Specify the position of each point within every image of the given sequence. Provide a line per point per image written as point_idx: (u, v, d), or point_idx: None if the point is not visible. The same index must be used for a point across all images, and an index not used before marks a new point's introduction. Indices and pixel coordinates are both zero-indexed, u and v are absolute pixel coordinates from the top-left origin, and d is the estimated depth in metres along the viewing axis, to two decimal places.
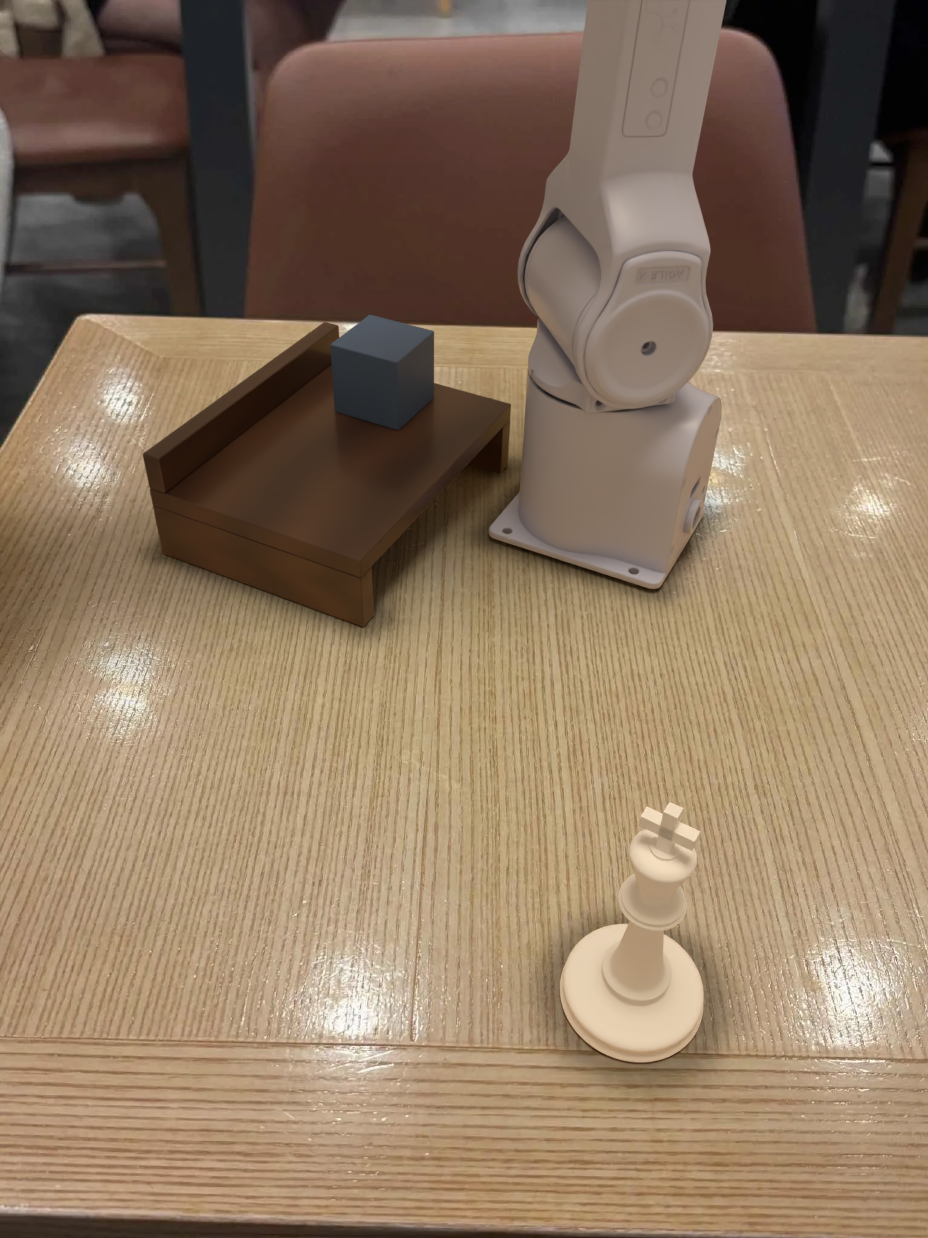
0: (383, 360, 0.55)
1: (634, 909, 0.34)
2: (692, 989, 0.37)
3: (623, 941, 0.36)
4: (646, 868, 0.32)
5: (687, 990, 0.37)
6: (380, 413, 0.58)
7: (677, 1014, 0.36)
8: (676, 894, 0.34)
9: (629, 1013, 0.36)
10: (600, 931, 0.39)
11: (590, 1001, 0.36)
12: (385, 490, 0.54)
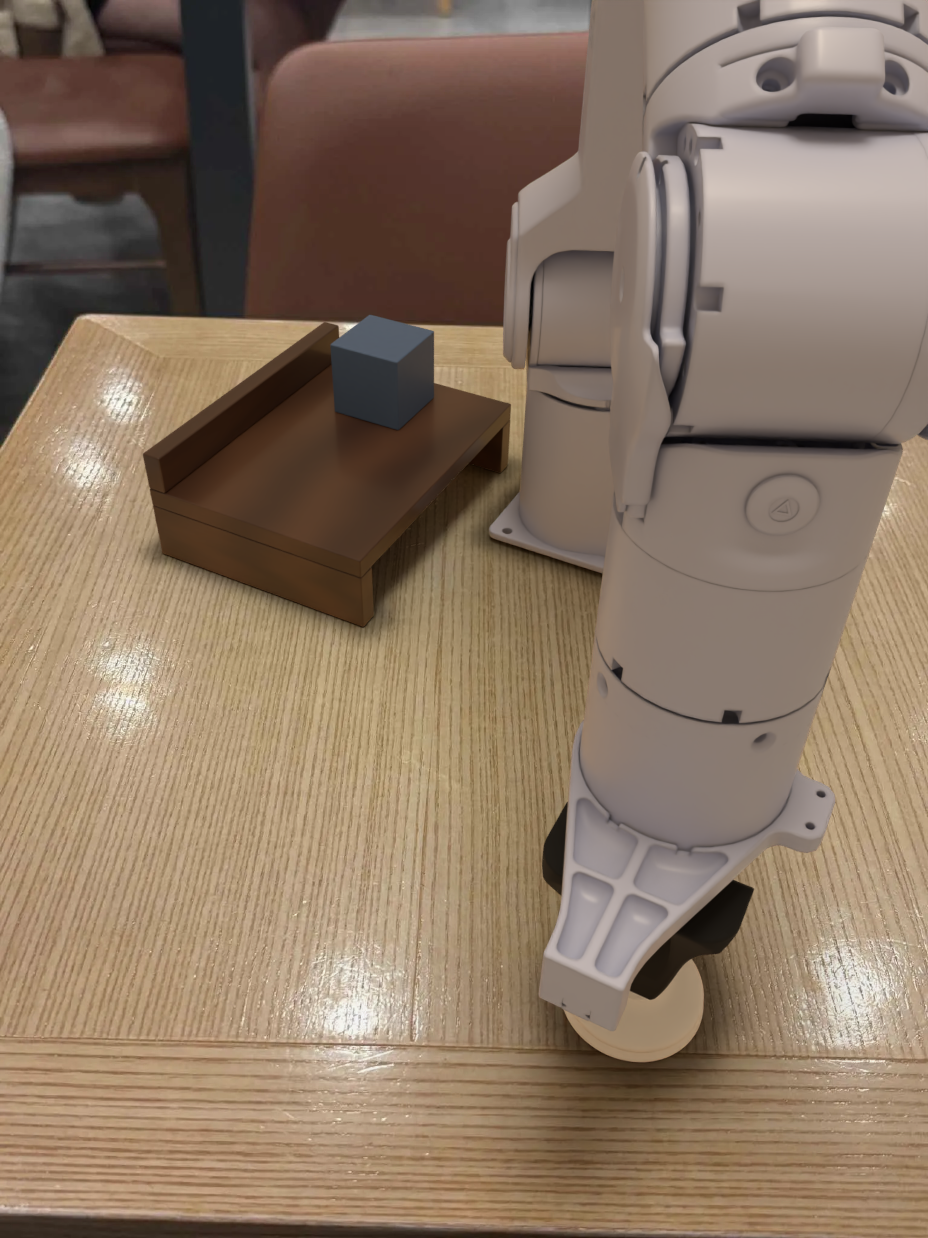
0: (383, 360, 0.55)
1: None
2: (692, 989, 0.37)
3: None
4: None
5: (687, 990, 0.37)
6: (380, 413, 0.58)
7: (677, 1014, 0.36)
8: None
9: (629, 1013, 0.36)
10: None
11: None
12: (385, 490, 0.54)
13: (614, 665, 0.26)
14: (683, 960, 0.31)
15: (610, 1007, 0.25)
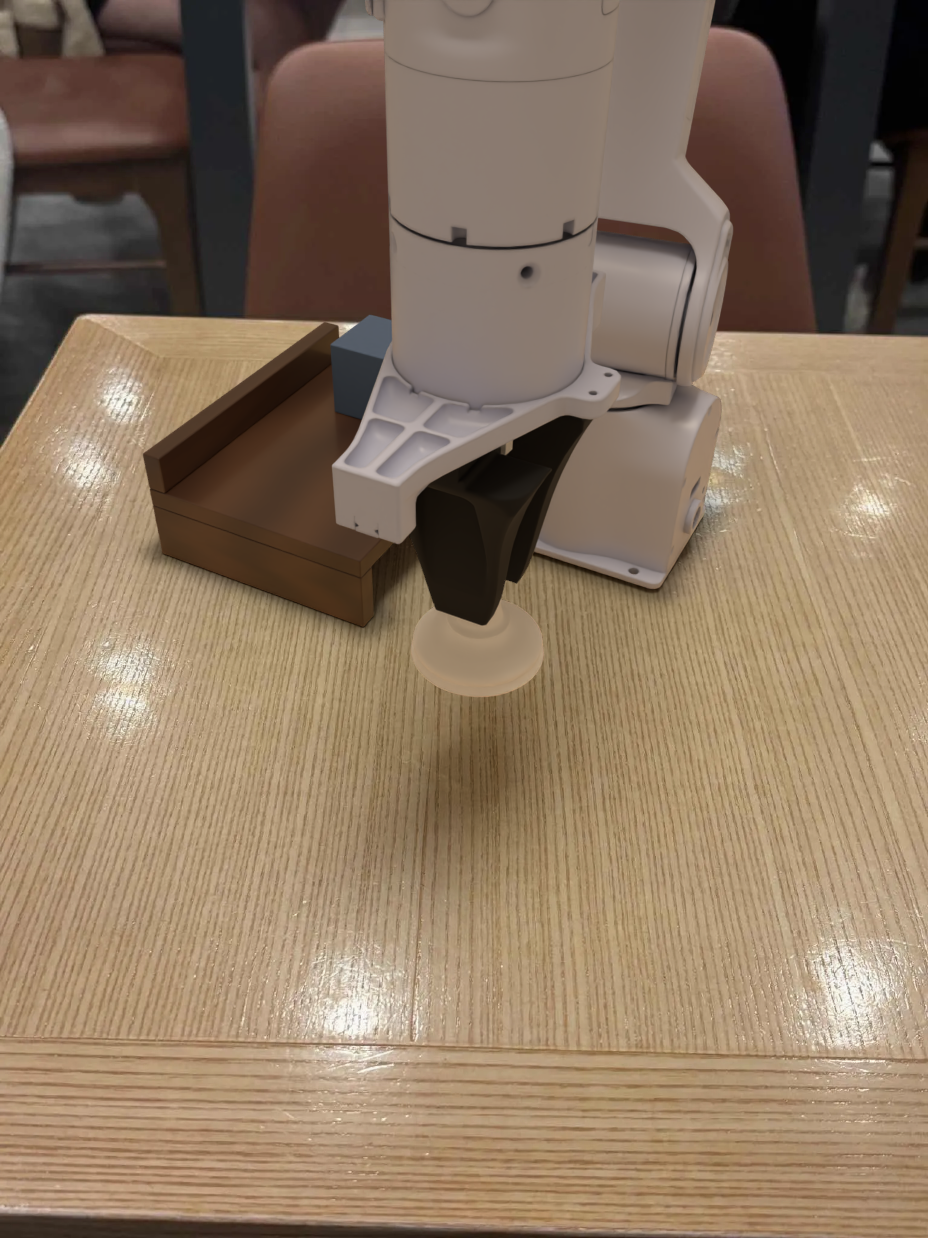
0: None
1: None
2: (531, 638, 0.40)
3: None
4: None
5: (526, 638, 0.40)
6: None
7: (514, 655, 0.39)
8: None
9: (469, 653, 0.39)
10: None
11: (434, 645, 0.39)
12: None
13: (390, 201, 0.29)
14: (495, 550, 0.34)
15: (391, 512, 0.28)
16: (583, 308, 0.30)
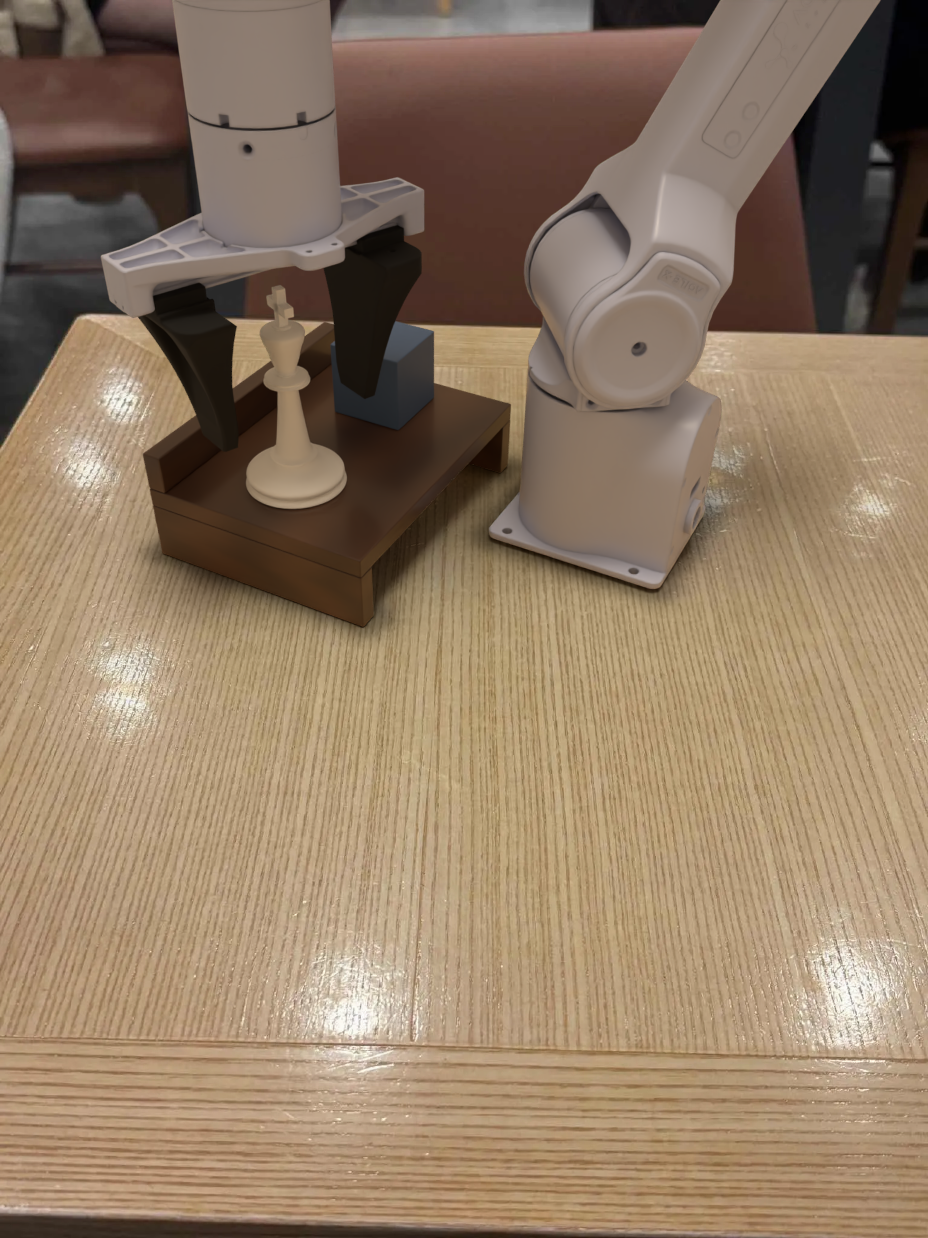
0: (383, 360, 0.55)
1: (268, 375, 0.50)
2: (327, 477, 0.53)
3: None
4: (263, 331, 0.48)
5: (322, 476, 0.53)
6: (380, 413, 0.58)
7: (304, 483, 0.52)
8: (300, 376, 0.50)
9: (274, 473, 0.52)
10: None
11: (258, 464, 0.53)
12: (385, 490, 0.54)
13: None
14: (201, 381, 0.45)
15: (125, 292, 0.42)
16: (308, 187, 0.42)
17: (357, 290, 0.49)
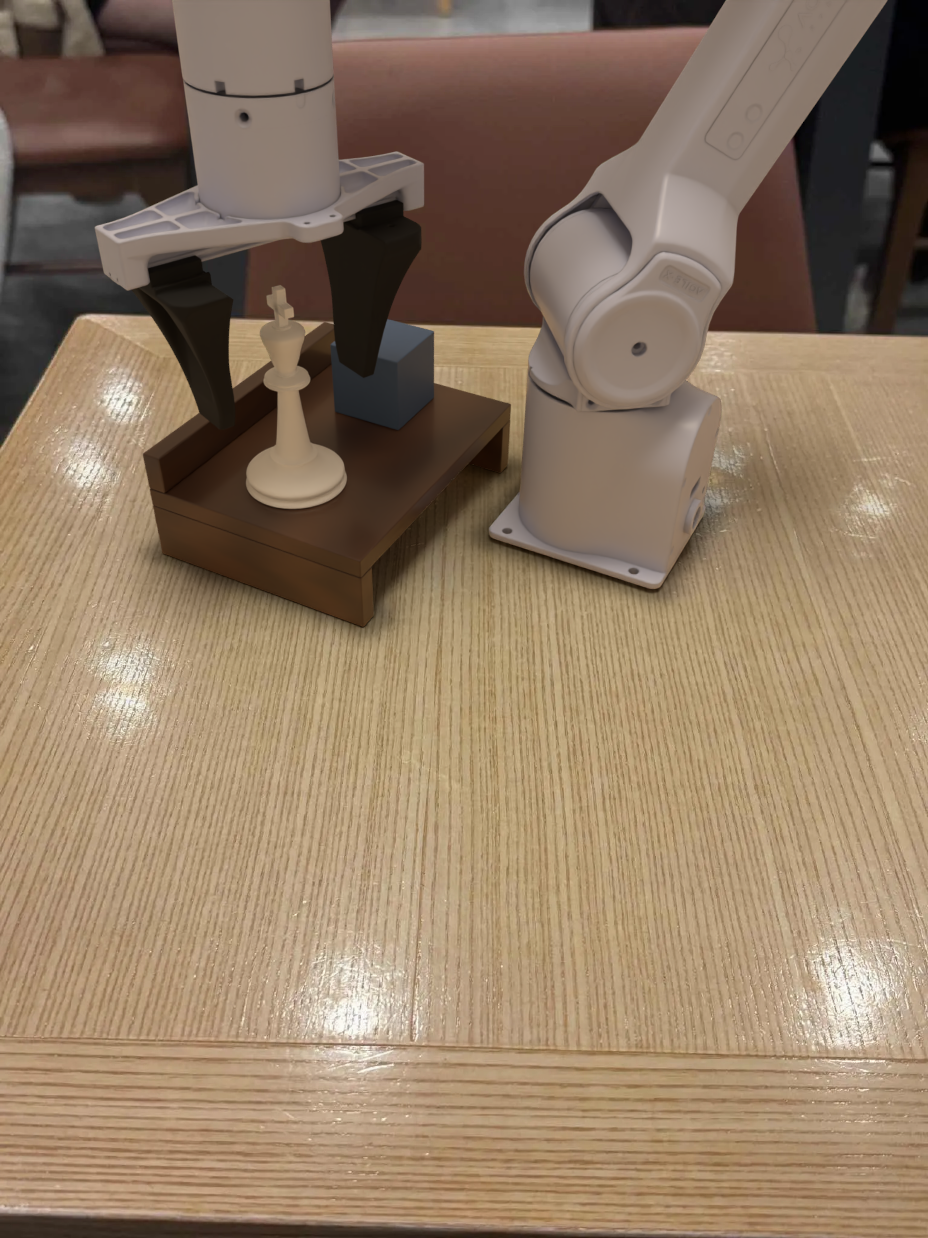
0: (383, 360, 0.55)
1: (268, 375, 0.50)
2: (327, 477, 0.53)
3: None
4: (263, 331, 0.48)
5: (322, 476, 0.53)
6: (380, 413, 0.58)
7: (304, 483, 0.52)
8: (300, 376, 0.50)
9: (274, 473, 0.52)
10: None
11: (258, 464, 0.53)
12: (385, 490, 0.54)
13: None
14: (197, 356, 0.45)
15: (119, 263, 0.41)
16: (305, 157, 0.42)
17: (356, 266, 0.49)
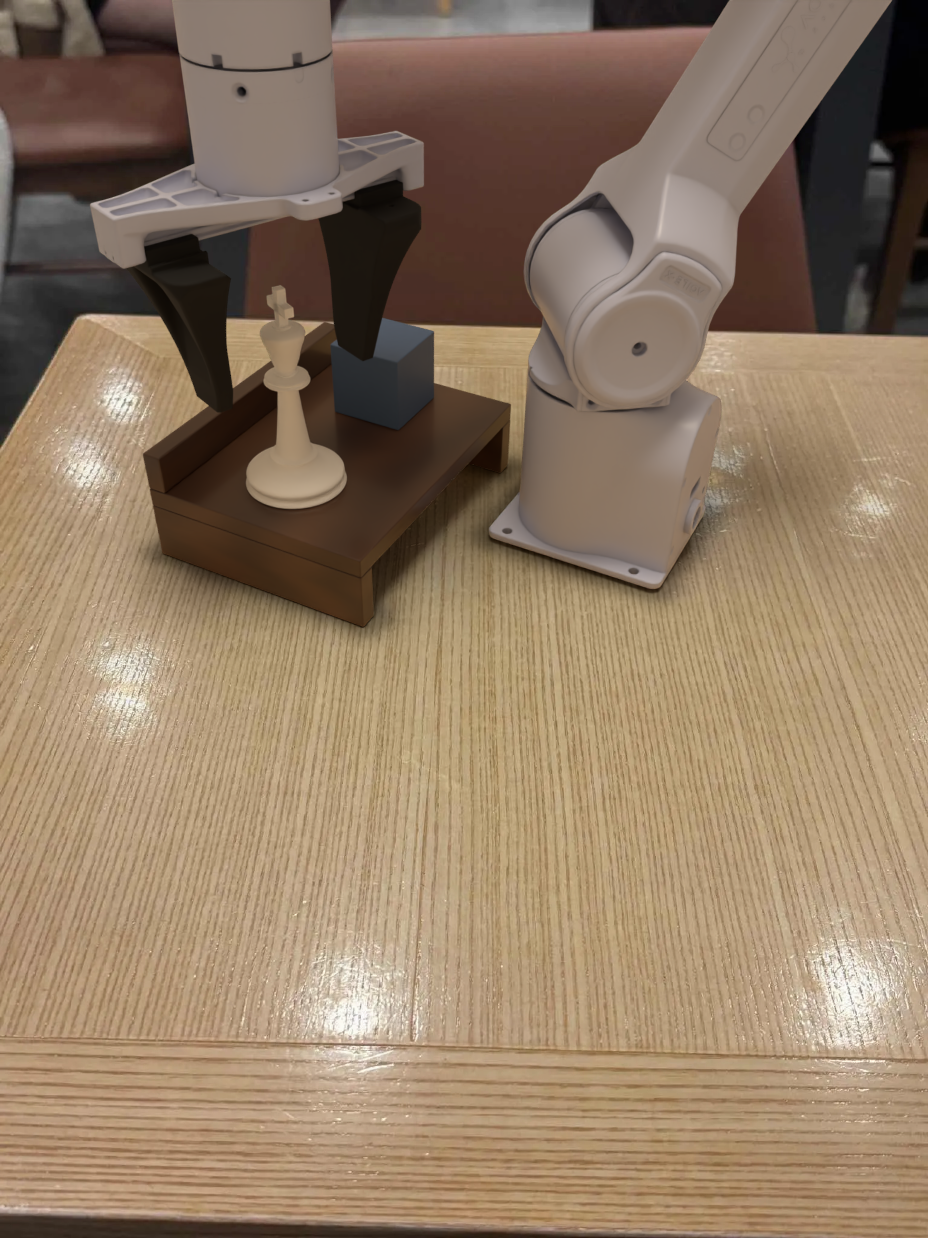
0: (383, 360, 0.55)
1: (268, 375, 0.50)
2: (327, 477, 0.53)
3: None
4: (263, 332, 0.48)
5: (322, 476, 0.53)
6: (380, 413, 0.58)
7: (305, 483, 0.52)
8: (300, 376, 0.50)
9: (274, 473, 0.52)
10: None
11: (258, 464, 0.53)
12: (385, 490, 0.54)
13: None
14: (194, 337, 0.44)
15: (114, 241, 0.41)
16: (304, 133, 0.41)
17: (355, 247, 0.48)
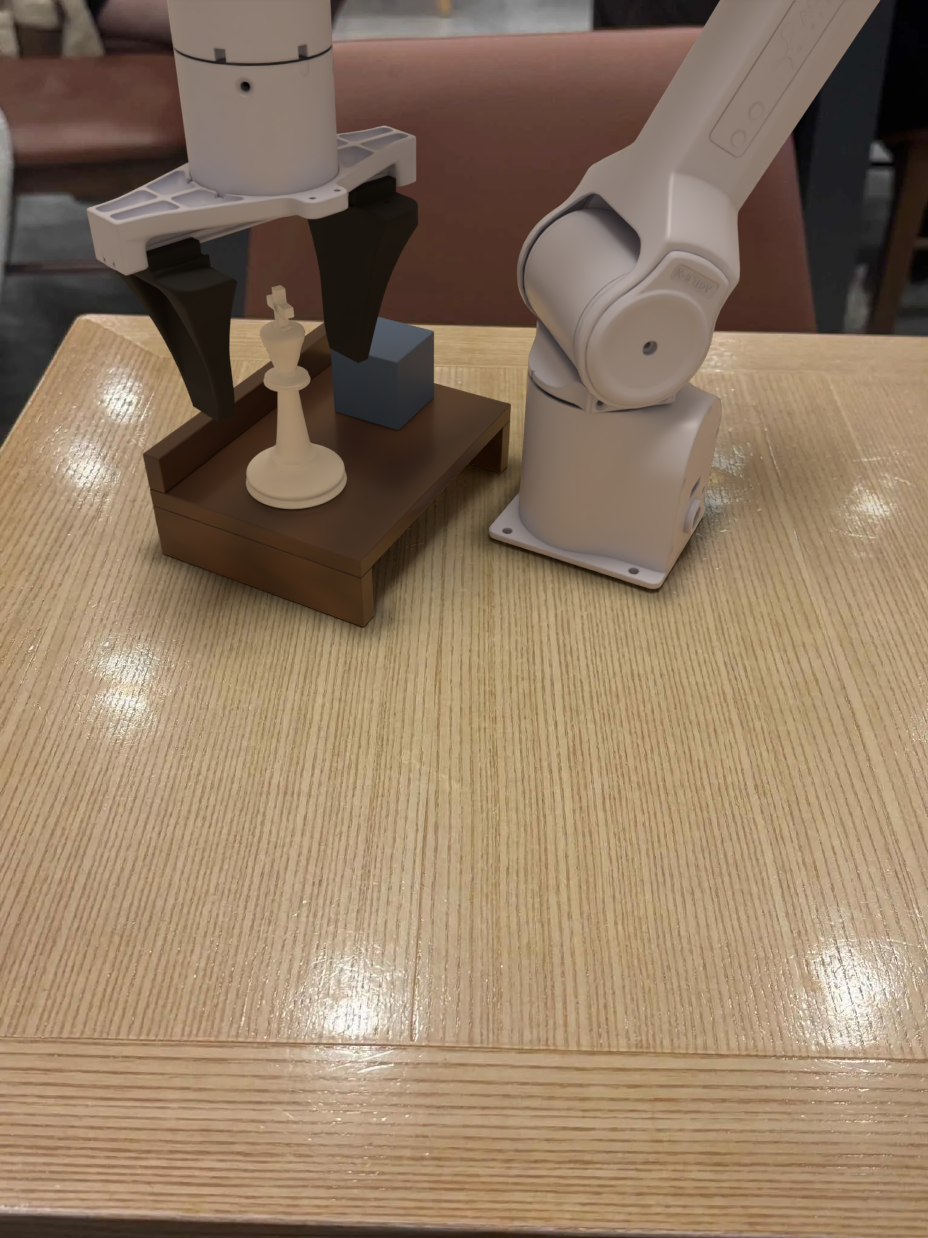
0: (383, 360, 0.55)
1: (268, 375, 0.50)
2: (327, 477, 0.53)
3: None
4: (263, 332, 0.48)
5: (322, 476, 0.53)
6: (380, 413, 0.58)
7: (305, 483, 0.52)
8: (300, 376, 0.50)
9: (274, 473, 0.52)
10: None
11: (258, 464, 0.53)
12: (385, 490, 0.54)
13: None
14: (198, 344, 0.42)
15: (117, 246, 0.39)
16: (308, 129, 0.40)
17: (349, 246, 0.47)
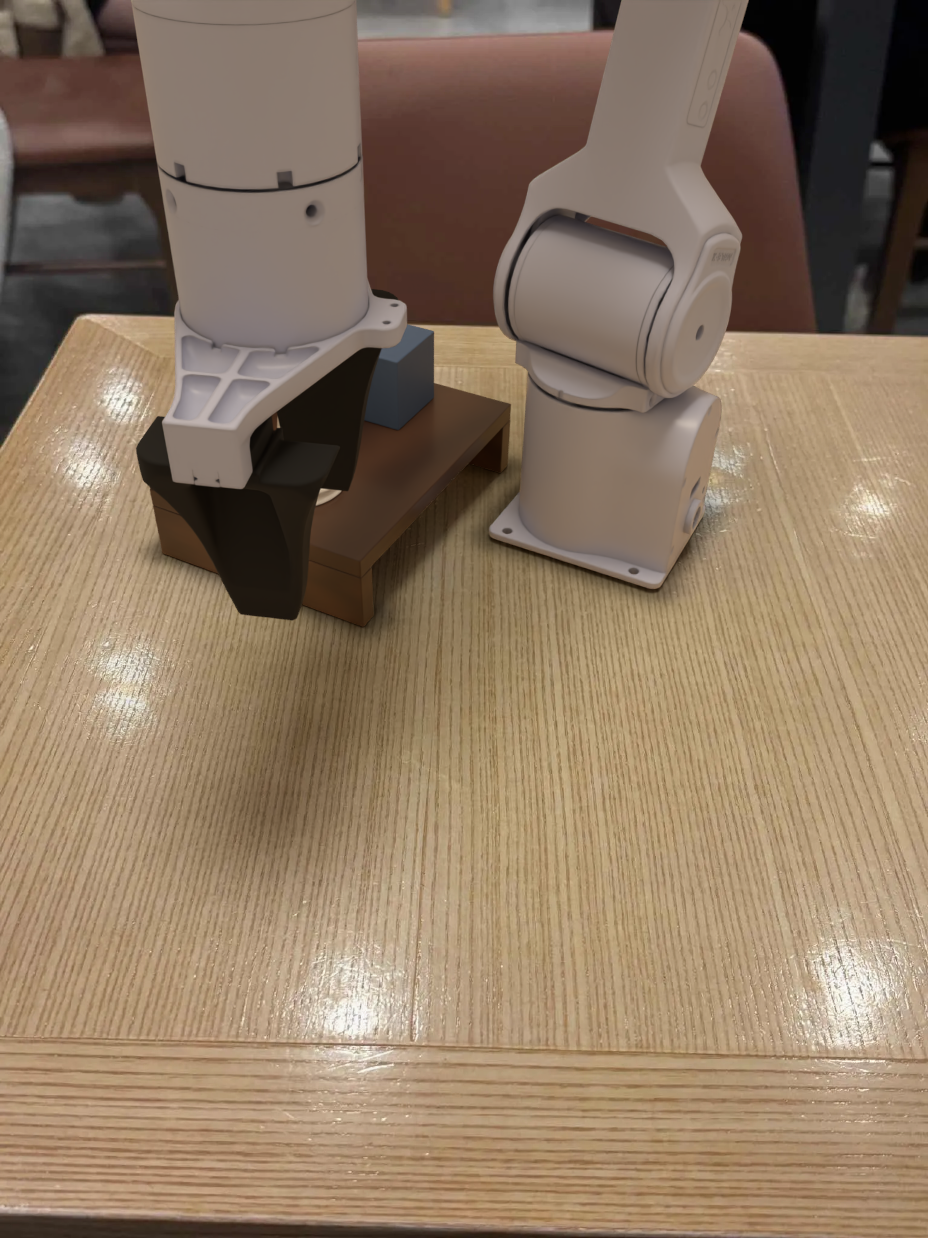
0: (383, 360, 0.55)
1: None
2: None
3: None
4: None
5: None
6: (380, 413, 0.58)
7: None
8: None
9: None
10: None
11: None
12: (385, 490, 0.54)
13: None
14: (297, 539, 0.33)
15: (231, 457, 0.29)
16: (363, 243, 0.32)
17: None
